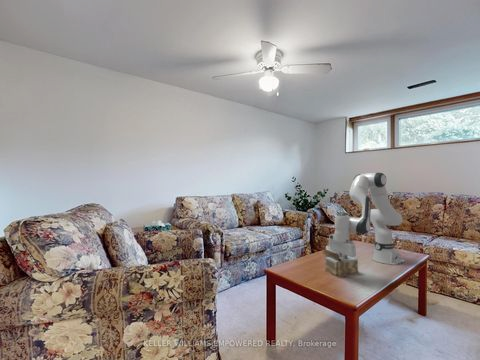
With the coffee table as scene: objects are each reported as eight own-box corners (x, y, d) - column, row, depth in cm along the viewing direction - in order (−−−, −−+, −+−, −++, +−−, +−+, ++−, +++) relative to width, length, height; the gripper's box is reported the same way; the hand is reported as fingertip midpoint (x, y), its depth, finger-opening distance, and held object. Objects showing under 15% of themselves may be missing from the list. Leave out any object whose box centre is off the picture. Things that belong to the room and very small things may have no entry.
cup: (332, 265, 170) (332, 249, 170) (323, 261, 179) (323, 245, 178) (341, 263, 174) (341, 247, 174) (332, 259, 182) (332, 244, 182)
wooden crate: (344, 266, 168) (344, 252, 168) (359, 273, 156) (359, 258, 156) (323, 269, 163) (323, 254, 163) (337, 277, 150) (337, 261, 150)
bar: (326, 253, 168) (326, 249, 168) (341, 260, 154) (341, 255, 154) (323, 253, 167) (323, 249, 167) (338, 260, 153) (338, 256, 153)
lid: (346, 256, 166) (346, 248, 166) (357, 260, 157) (357, 252, 157) (325, 259, 161) (325, 250, 161) (335, 263, 152) (335, 255, 152)
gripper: (358, 241, 143) (358, 264, 143) (334, 234, 162) (334, 254, 163) (350, 242, 141) (350, 265, 141) (327, 234, 160) (327, 255, 160)
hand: (341, 259), depth 152 cm, fingers closed
